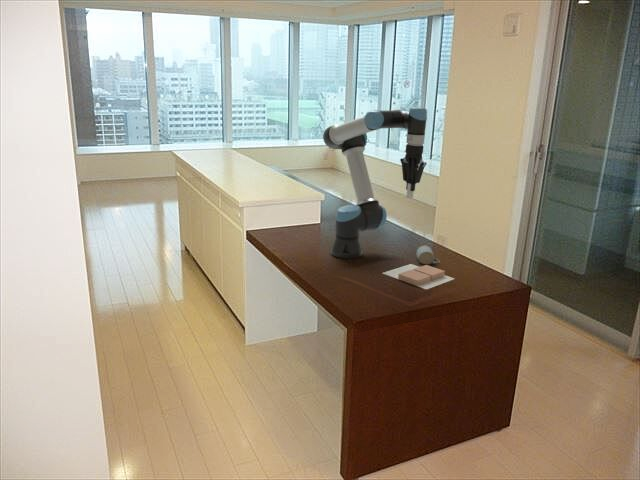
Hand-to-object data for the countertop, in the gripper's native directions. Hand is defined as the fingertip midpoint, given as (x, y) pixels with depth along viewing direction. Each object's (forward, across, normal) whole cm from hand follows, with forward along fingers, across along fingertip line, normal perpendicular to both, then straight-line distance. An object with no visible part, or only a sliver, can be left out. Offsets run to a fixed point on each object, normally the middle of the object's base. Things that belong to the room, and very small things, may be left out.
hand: (409, 197), depth 235 cm
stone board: (+32, +15, -8) cm, 36 cm away
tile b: (+29, +12, -4) cm, 32 cm away
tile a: (+29, +12, -14) cm, 35 cm away
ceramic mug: (+32, +5, +12) cm, 35 cm away
